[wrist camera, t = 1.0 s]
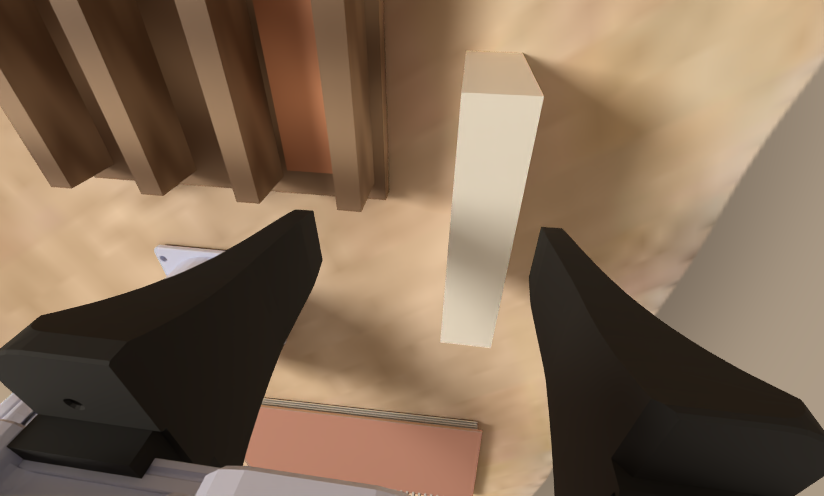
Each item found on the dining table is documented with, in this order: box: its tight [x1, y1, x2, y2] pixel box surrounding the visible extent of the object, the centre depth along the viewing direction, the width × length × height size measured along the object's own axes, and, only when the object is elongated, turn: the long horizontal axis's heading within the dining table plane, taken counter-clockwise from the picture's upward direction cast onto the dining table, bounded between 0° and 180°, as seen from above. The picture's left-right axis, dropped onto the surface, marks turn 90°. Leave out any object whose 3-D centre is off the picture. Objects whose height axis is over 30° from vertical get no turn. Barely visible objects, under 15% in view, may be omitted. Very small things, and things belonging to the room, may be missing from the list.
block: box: [440, 51, 544, 348], centre depth 18 cm, size 12×2×7 cm, turn 179°
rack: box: [0, 0, 389, 212], centre depth 16 cm, size 17×18×4 cm
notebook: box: [244, 398, 482, 496], centre depth 42 cm, size 27×17×2 cm, turn 92°
